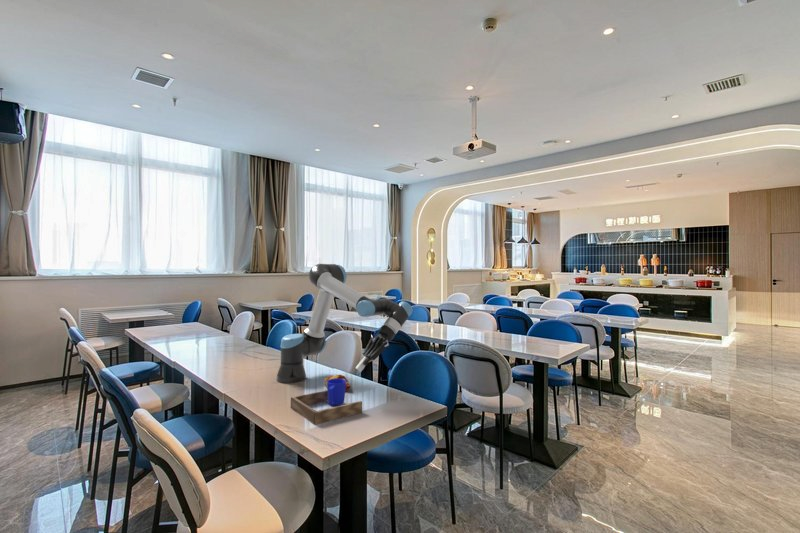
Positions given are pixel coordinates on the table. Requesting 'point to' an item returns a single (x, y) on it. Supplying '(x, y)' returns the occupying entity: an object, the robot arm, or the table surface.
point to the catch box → (325, 415)
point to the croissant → (338, 378)
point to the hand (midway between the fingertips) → (357, 370)
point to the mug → (336, 391)
